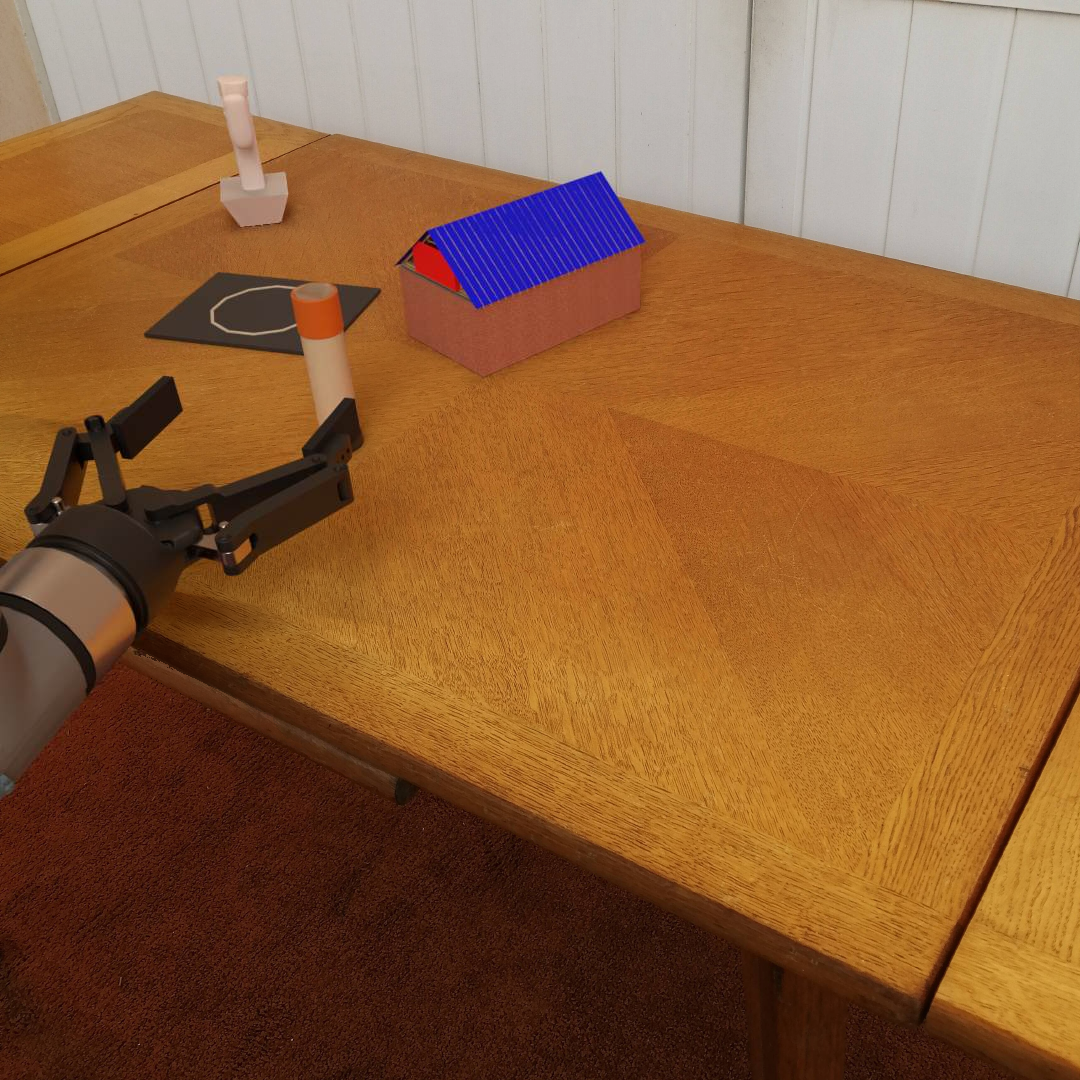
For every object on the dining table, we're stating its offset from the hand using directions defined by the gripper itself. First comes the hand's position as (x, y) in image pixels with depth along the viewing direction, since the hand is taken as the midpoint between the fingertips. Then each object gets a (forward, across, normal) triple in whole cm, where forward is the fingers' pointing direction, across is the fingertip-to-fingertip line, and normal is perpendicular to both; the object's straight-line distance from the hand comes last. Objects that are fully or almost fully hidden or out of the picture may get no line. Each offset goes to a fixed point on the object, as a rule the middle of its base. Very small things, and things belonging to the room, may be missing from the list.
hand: (262, 403), depth 77 cm
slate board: (+30, -17, -9) cm, 36 cm away
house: (+34, +8, -9) cm, 36 cm away
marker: (+10, 0, -9) cm, 14 cm away
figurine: (+52, -29, -9) cm, 60 cm away
